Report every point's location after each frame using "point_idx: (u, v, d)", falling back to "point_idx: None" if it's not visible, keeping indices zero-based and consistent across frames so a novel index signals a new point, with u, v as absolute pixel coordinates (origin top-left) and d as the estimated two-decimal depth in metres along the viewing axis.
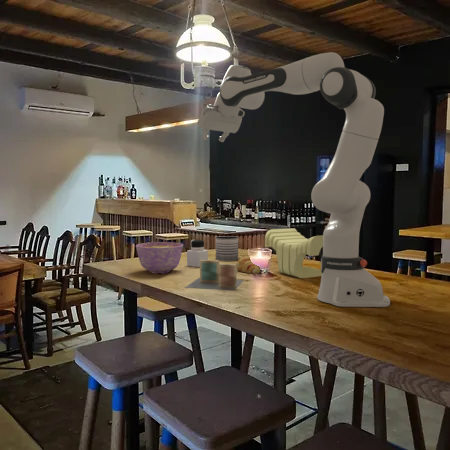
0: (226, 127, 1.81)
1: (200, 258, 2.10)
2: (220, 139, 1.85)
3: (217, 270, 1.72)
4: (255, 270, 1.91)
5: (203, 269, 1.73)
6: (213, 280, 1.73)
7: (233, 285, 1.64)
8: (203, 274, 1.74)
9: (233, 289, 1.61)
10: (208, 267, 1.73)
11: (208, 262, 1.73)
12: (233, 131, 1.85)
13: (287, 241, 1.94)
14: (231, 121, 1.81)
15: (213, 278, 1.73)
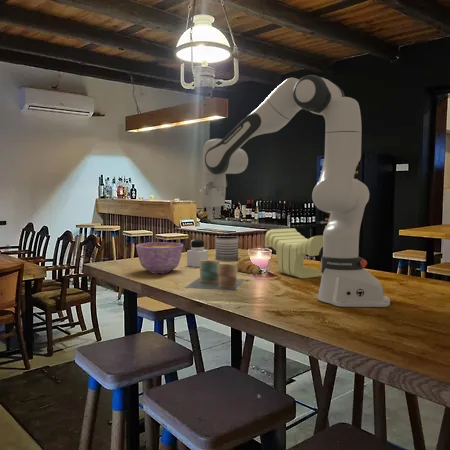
0: (220, 201, 1.80)
1: (200, 258, 2.10)
2: (216, 215, 1.83)
3: (217, 270, 1.72)
4: (255, 270, 1.91)
5: (203, 269, 1.73)
6: (213, 280, 1.73)
7: (233, 285, 1.64)
8: (203, 274, 1.74)
9: (233, 289, 1.61)
10: (208, 267, 1.73)
11: (208, 262, 1.73)
12: (223, 203, 1.85)
13: (287, 241, 1.94)
14: (220, 194, 1.82)
15: (213, 278, 1.73)
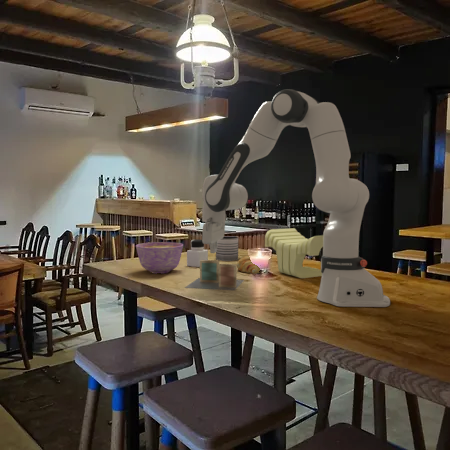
0: (219, 235, 1.81)
1: (200, 259, 2.10)
2: None
3: (217, 270, 1.72)
4: (254, 270, 1.91)
5: (203, 269, 1.73)
6: (213, 280, 1.73)
7: (233, 285, 1.64)
8: (203, 274, 1.74)
9: (233, 289, 1.61)
10: (208, 267, 1.73)
11: (208, 262, 1.73)
12: (222, 237, 1.86)
13: (287, 241, 1.94)
14: (220, 228, 1.83)
15: (213, 278, 1.73)
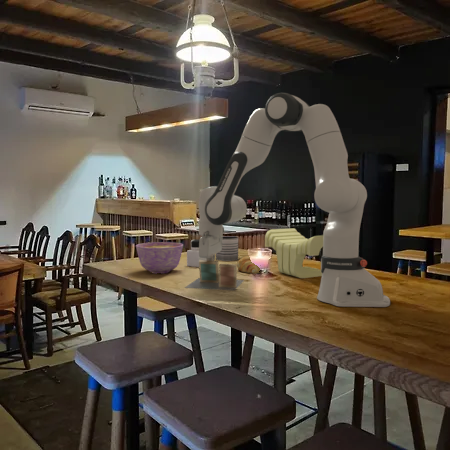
0: (217, 248, 1.76)
1: (200, 258, 2.10)
2: None
3: (216, 271, 1.71)
4: (254, 270, 1.91)
5: (202, 270, 1.72)
6: (213, 280, 1.73)
7: (233, 285, 1.64)
8: (202, 274, 1.73)
9: (233, 289, 1.61)
10: (207, 268, 1.72)
11: (207, 263, 1.71)
12: (220, 250, 1.81)
13: (287, 241, 1.94)
14: (217, 241, 1.78)
15: (213, 278, 1.72)
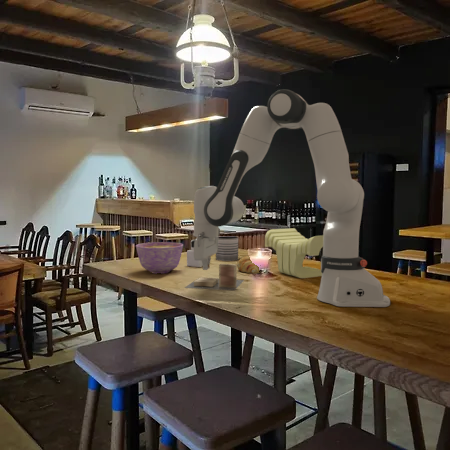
0: (212, 250, 1.70)
1: None
2: None
3: None
4: (254, 270, 1.91)
5: None
6: None
7: (233, 285, 1.64)
8: None
9: (233, 289, 1.61)
10: None
11: (203, 285, 1.66)
12: (216, 251, 1.75)
13: (287, 241, 1.94)
14: (213, 242, 1.72)
15: None
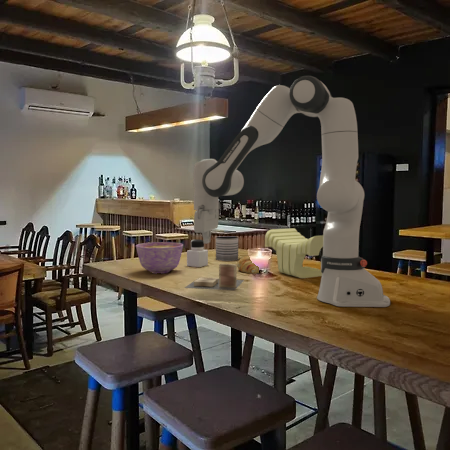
0: (213, 224, 1.69)
1: (200, 259, 2.10)
2: None
3: None
4: (254, 270, 1.91)
5: None
6: None
7: (233, 285, 1.64)
8: None
9: (233, 289, 1.61)
10: None
11: (203, 285, 1.66)
12: (216, 226, 1.74)
13: (287, 241, 1.94)
14: (213, 217, 1.71)
15: None
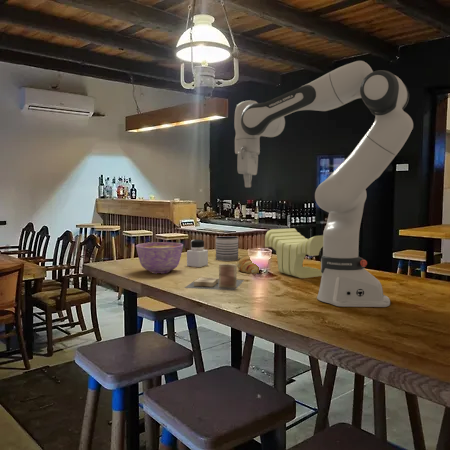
0: (253, 168, 1.68)
1: (200, 259, 2.10)
2: None
3: None
4: (253, 270, 1.91)
5: None
6: None
7: (233, 285, 1.64)
8: None
9: (233, 289, 1.61)
10: None
11: (203, 285, 1.66)
12: (256, 172, 1.73)
13: (287, 241, 1.94)
14: (253, 162, 1.70)
15: None
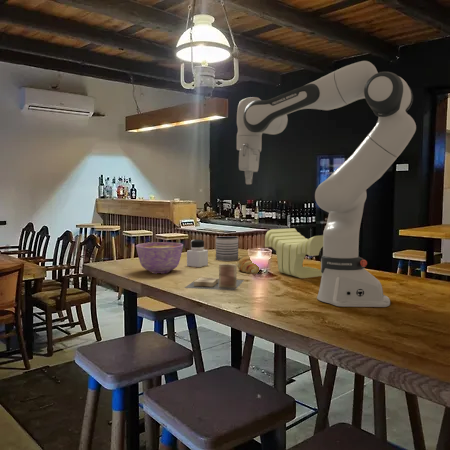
0: (255, 165, 1.67)
1: (200, 258, 2.10)
2: None
3: None
4: (253, 270, 1.91)
5: None
6: None
7: (233, 285, 1.64)
8: None
9: (233, 289, 1.61)
10: None
11: (203, 285, 1.66)
12: (257, 169, 1.72)
13: (287, 241, 1.94)
14: (255, 159, 1.69)
15: None
